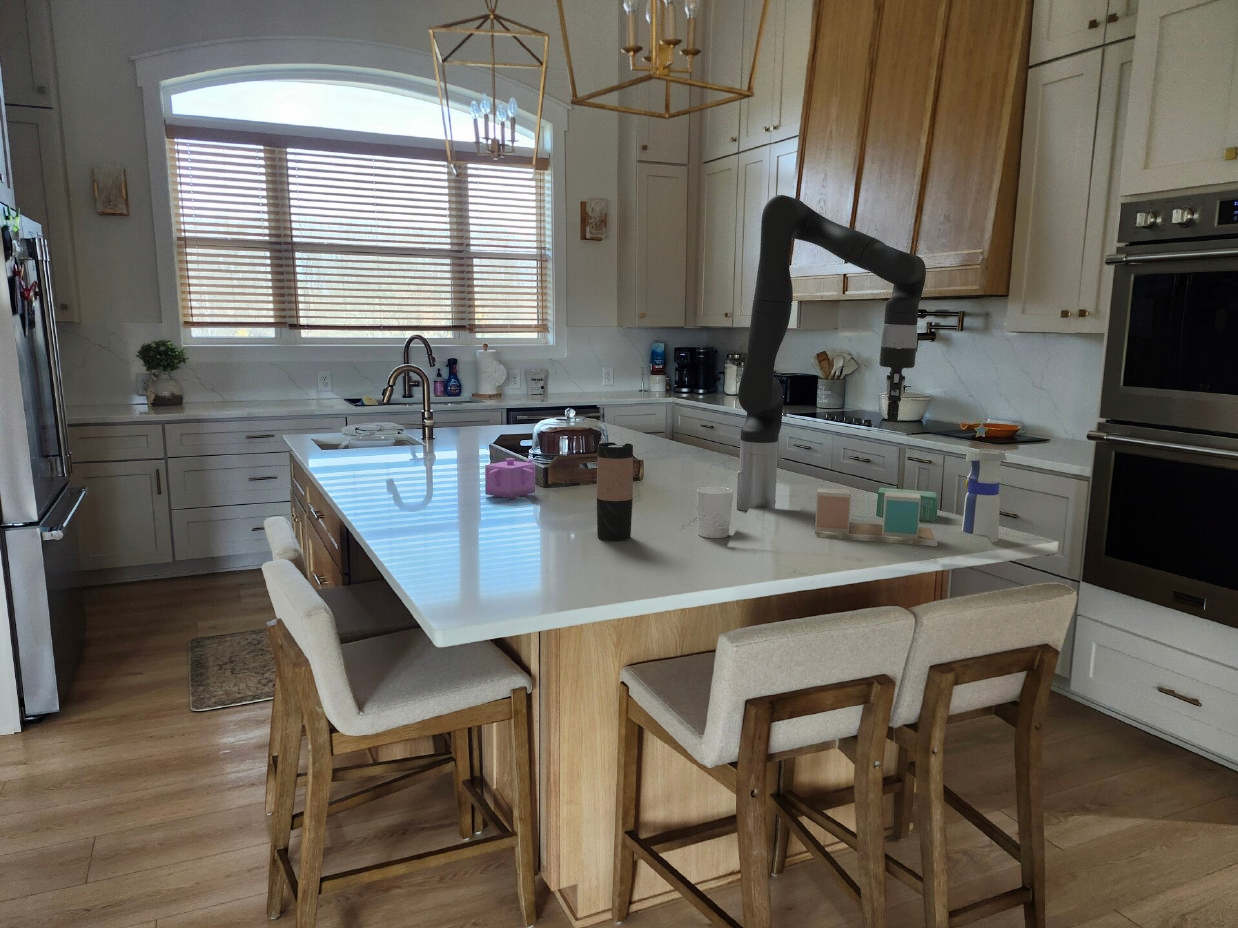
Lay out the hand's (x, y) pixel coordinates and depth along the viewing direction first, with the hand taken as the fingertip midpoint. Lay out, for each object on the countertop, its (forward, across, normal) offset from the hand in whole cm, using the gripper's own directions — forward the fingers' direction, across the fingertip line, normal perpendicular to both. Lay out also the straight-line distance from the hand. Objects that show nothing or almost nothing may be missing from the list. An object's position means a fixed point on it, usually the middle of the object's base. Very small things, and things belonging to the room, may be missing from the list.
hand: (892, 418), depth 195 cm
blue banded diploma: (+25, +3, +20) cm, 32 cm away
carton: (+24, +14, +3) cm, 28 cm away
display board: (+25, +12, -2) cm, 28 cm away
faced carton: (+24, +15, -11) cm, 30 cm away
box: (+26, -8, +5) cm, 27 cm away
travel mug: (+26, +30, -55) cm, 68 cm away
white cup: (+26, +21, -35) cm, 49 cm away
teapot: (+28, -4, -93) cm, 97 cm away
